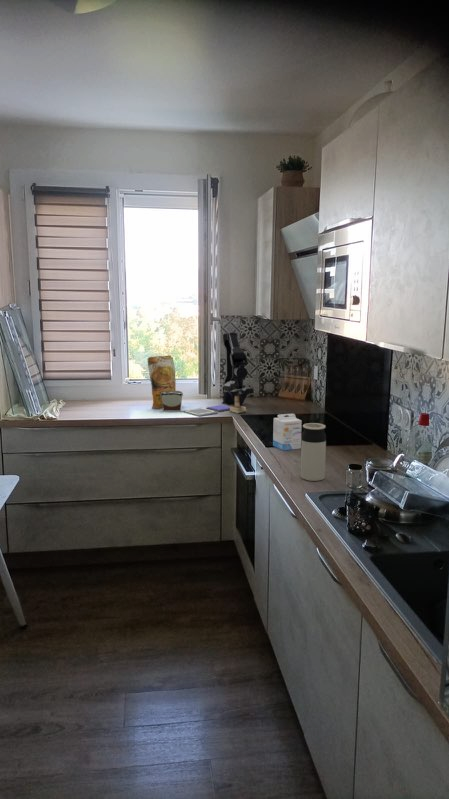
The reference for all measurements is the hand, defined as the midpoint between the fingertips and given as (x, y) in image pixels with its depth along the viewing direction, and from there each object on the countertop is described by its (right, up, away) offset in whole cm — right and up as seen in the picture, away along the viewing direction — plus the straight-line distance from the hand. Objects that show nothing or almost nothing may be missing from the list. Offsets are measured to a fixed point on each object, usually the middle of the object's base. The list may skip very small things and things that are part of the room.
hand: (238, 405), depth 288 cm
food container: (-35, -3, +8) cm, 36 cm away
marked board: (-20, -4, 0) cm, 20 cm away
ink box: (+18, -16, -66) cm, 71 cm away
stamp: (0, -4, +1) cm, 4 cm away
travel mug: (+23, -23, -104) cm, 109 cm away
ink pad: (-9, -2, +8) cm, 13 cm away
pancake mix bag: (-41, -1, +17) cm, 44 cm away
